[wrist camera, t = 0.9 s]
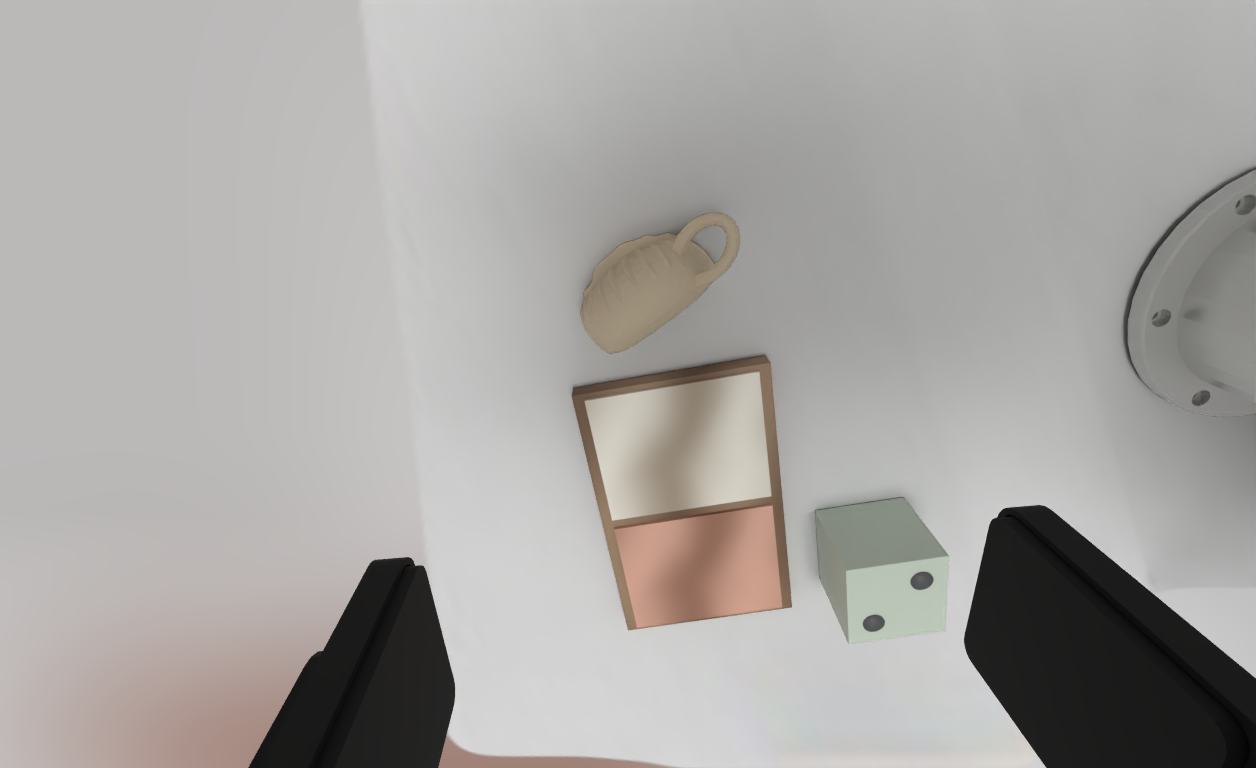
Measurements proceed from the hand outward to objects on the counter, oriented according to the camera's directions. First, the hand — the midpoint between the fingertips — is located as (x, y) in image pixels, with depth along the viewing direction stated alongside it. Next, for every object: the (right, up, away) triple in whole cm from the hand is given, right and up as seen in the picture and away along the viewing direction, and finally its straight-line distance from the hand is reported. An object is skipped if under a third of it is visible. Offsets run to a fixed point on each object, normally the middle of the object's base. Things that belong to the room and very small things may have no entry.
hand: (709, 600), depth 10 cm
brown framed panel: (+2, -3, +23) cm, 23 cm away
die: (+12, -5, +24) cm, 28 cm away
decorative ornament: (0, +9, +18) cm, 20 cm away
